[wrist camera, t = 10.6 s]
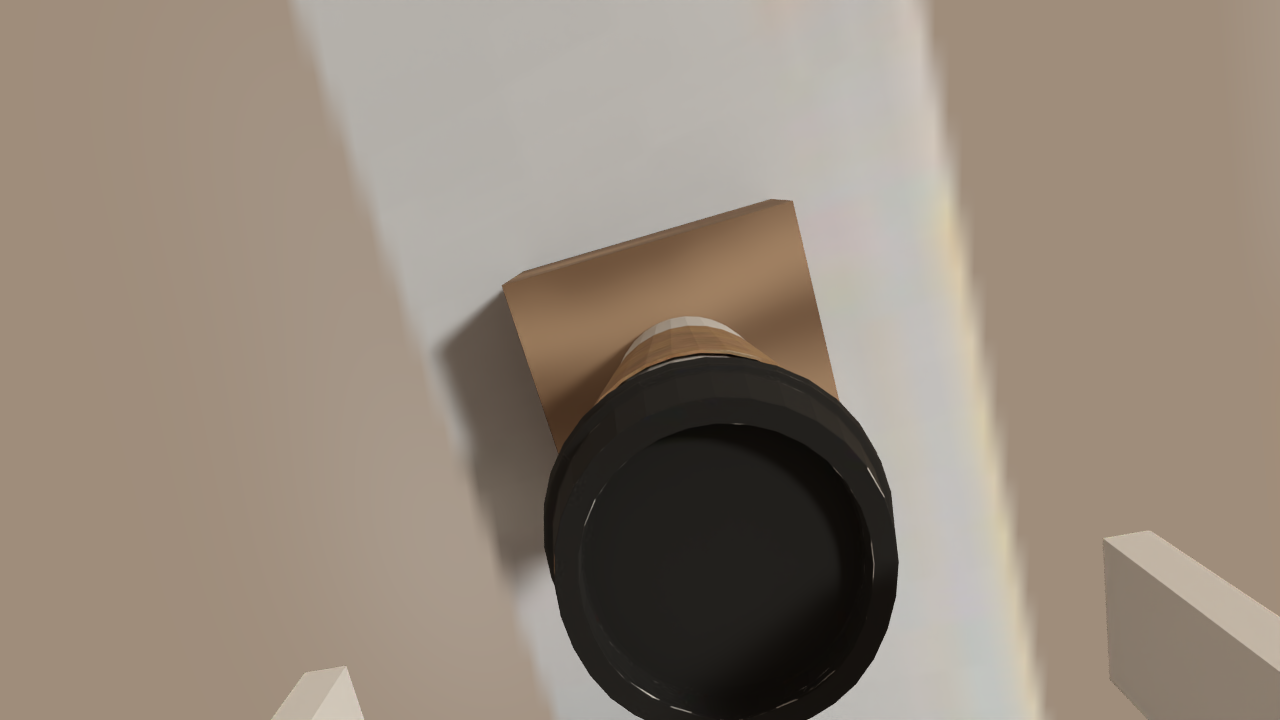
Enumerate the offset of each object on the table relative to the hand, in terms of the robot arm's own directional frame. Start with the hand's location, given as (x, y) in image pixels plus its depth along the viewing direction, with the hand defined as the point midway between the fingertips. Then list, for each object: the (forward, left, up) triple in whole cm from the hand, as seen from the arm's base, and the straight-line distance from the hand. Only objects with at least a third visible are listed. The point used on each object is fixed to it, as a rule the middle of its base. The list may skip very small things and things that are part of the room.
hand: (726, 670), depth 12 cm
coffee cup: (0, 0, -18) cm, 18 cm away
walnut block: (0, 0, -23) cm, 23 cm away
